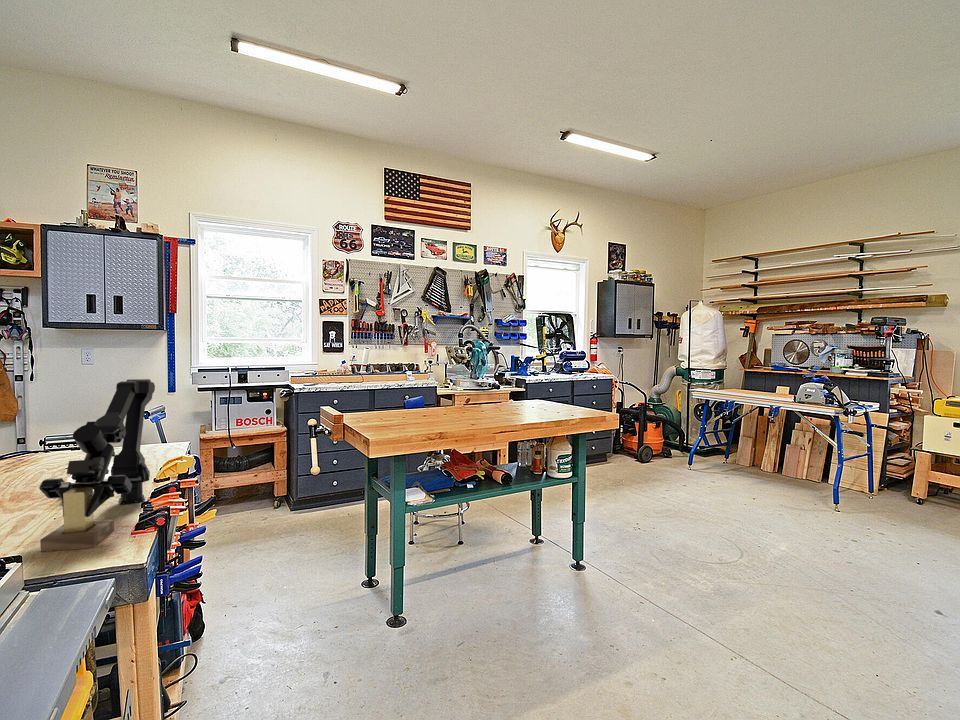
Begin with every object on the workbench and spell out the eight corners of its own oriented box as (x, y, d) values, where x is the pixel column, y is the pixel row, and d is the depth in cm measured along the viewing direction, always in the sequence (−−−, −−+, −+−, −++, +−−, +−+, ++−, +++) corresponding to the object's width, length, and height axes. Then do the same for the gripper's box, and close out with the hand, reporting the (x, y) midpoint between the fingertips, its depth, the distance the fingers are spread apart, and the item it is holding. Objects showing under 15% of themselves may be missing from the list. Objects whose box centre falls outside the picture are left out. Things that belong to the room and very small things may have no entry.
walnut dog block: (65, 534, 129) (65, 523, 129) (114, 530, 132) (114, 519, 131) (40, 551, 118) (40, 539, 118) (94, 547, 121) (93, 535, 121)
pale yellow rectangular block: (73, 537, 126) (72, 488, 126) (93, 536, 128) (92, 487, 127) (64, 544, 122) (63, 493, 122) (85, 543, 123) (84, 492, 123)
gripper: (42, 448, 125) (15, 505, 115) (126, 444, 130) (108, 498, 120) (60, 470, 133) (36, 525, 123) (139, 466, 138) (122, 519, 128)
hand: (76, 516), depth 123 cm, fingers closed on pale yellow rectangular block, 4 cm apart
